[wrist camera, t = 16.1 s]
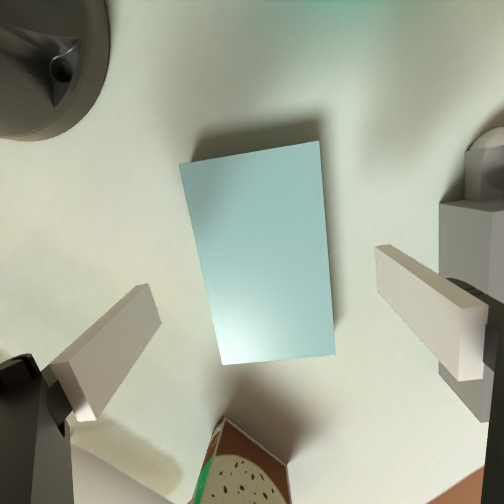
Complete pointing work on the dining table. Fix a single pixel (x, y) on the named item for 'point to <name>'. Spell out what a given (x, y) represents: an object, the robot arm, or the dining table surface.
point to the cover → (263, 252)
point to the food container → (240, 471)
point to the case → (476, 247)
